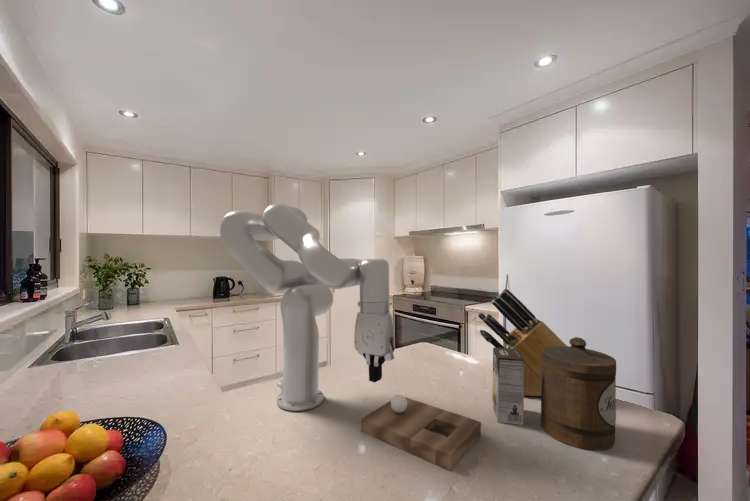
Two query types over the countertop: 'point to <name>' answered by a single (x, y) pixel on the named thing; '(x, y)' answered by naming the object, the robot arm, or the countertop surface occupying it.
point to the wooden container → (579, 396)
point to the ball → (399, 403)
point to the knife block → (522, 337)
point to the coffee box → (508, 385)
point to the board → (424, 431)
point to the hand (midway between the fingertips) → (375, 380)
